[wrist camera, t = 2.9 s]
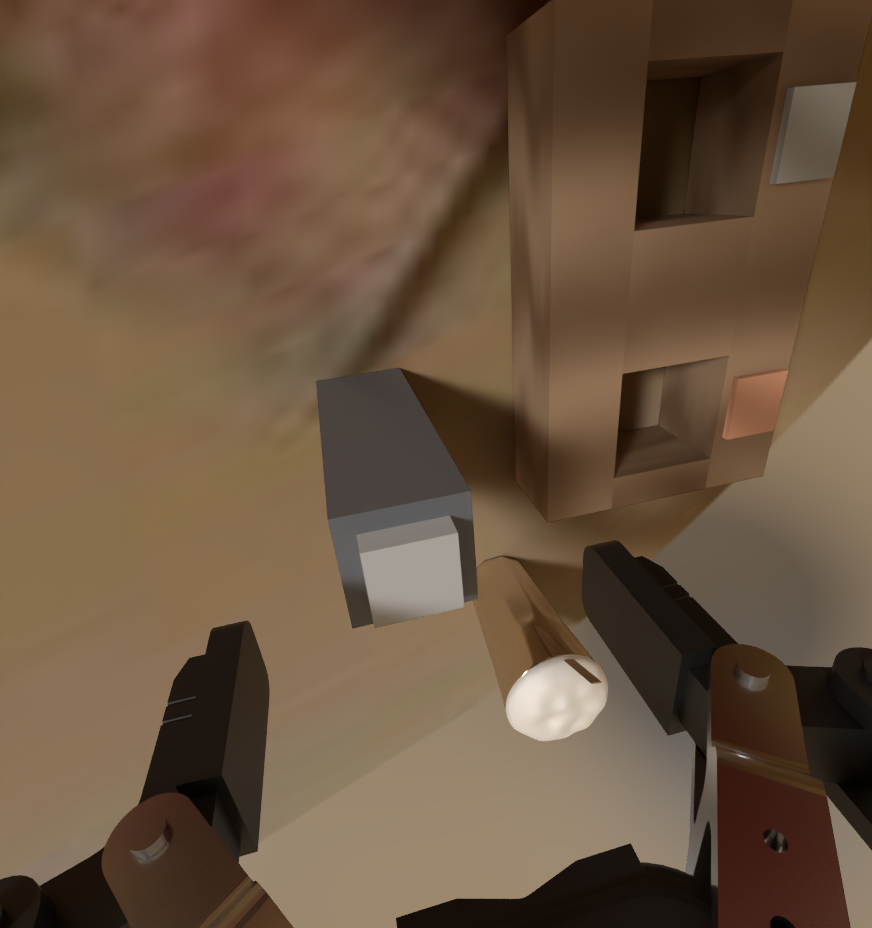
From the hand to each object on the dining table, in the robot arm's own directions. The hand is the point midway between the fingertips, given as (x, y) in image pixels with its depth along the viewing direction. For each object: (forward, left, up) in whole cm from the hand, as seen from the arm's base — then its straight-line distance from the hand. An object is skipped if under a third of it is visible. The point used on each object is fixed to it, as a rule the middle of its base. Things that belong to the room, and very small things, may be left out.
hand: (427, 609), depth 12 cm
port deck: (-4, +12, -13) cm, 18 cm away
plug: (0, 0, -13) cm, 13 cm away
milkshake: (+11, +6, -13) cm, 18 cm away
